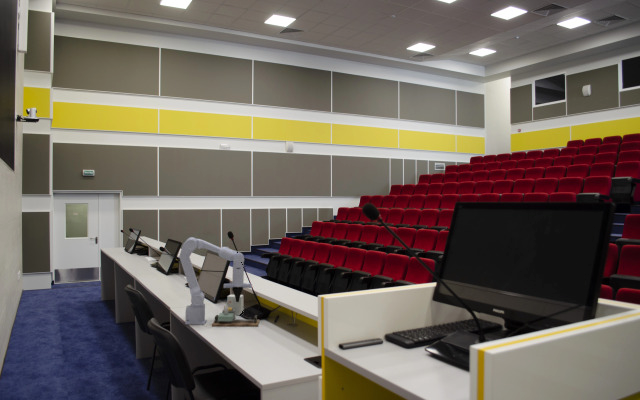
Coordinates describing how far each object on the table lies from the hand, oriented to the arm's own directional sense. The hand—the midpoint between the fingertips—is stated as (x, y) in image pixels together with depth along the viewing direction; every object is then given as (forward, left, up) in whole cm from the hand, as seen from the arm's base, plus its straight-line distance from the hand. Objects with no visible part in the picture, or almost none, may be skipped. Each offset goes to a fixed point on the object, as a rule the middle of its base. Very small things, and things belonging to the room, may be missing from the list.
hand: (237, 301), depth 239 cm
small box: (-3, +15, -11) cm, 19 cm away
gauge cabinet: (-5, +4, -10) cm, 12 cm away
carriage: (-5, -5, -8) cm, 11 cm away
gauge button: (-5, +4, -6) cm, 9 cm away
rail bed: (0, -5, -10) cm, 12 cm away
